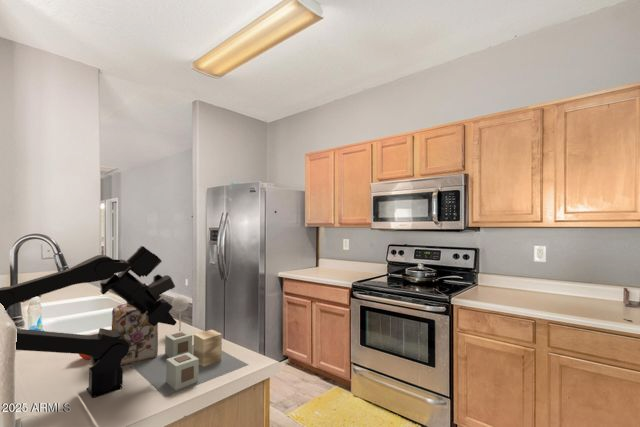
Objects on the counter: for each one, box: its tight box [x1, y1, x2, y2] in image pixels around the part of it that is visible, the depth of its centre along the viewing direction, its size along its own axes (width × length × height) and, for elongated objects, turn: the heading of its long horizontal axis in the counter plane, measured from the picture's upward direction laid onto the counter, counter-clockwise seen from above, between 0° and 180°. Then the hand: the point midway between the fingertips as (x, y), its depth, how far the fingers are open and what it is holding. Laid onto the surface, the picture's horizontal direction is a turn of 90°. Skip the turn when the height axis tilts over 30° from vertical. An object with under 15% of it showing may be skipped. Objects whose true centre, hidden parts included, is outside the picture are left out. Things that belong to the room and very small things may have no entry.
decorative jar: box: [111, 302, 159, 366], centre depth 102 cm, size 12×12×18 cm
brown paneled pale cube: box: [164, 330, 193, 358], centre depth 103 cm, size 6×6×6 cm
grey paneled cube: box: [166, 352, 199, 390], centre depth 85 cm, size 6×6×6 cm
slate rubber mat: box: [129, 344, 249, 398], centre depth 96 cm, size 24×26×1 cm
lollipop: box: [171, 294, 190, 332], centre depth 120 cm, size 6×6×15 cm
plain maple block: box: [193, 329, 223, 367], centre depth 98 cm, size 6×6×8 cm
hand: (175, 323), depth 93 cm, fingers closed
